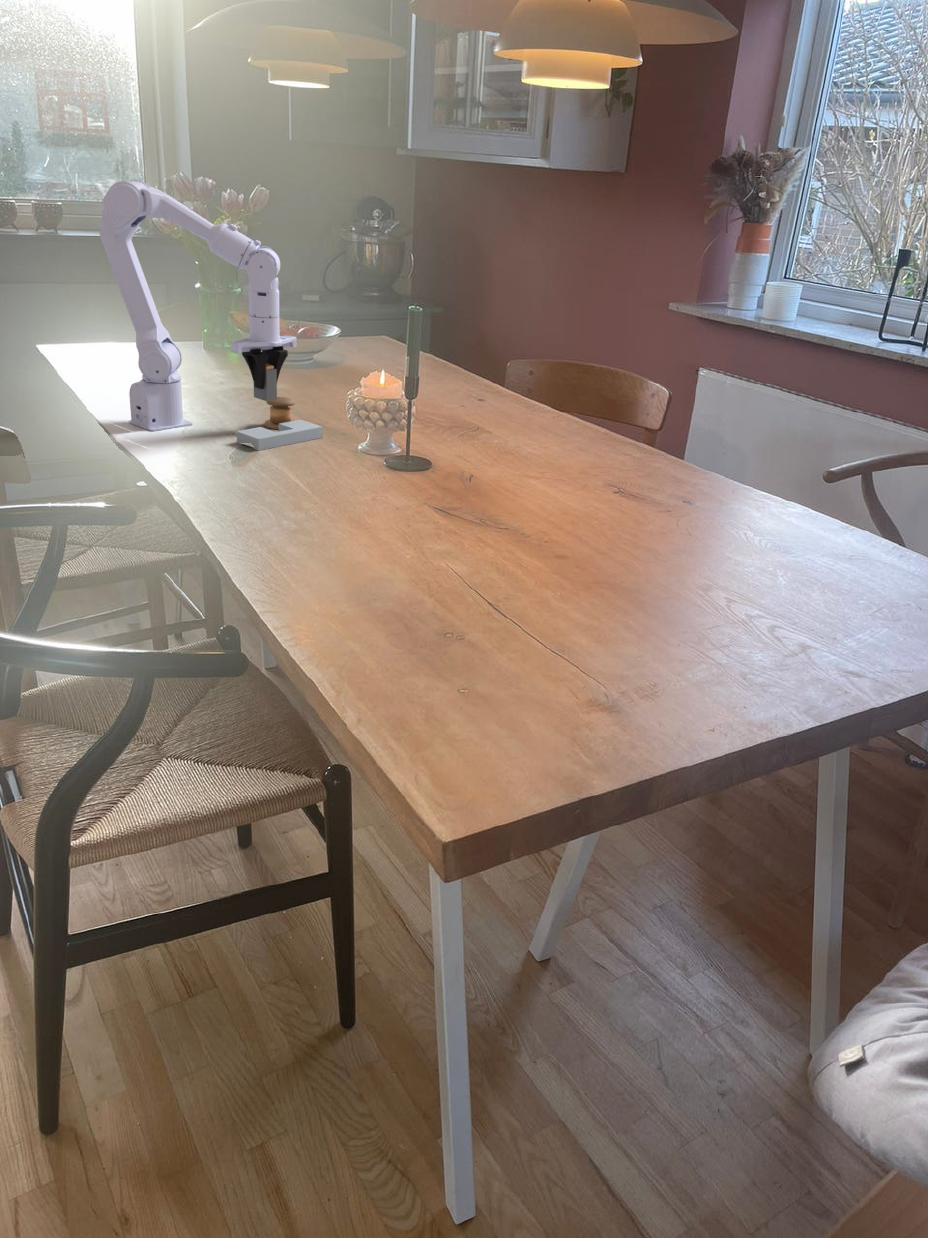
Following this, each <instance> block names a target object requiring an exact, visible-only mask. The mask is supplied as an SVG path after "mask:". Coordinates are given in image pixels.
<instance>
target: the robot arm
mask: <svg viewBox="0 0 928 1238" xmlns="http://www.w3.org/2000/svg"><path fill="white" fill-rule="evenodd" d="M101 201H102V206H103V207H102V208H103V209H102V213H101V220H100V229H99V238H100V241H101V243H102V246H103V248H104V249H103V250H104V251H105V255H106V256H107V260H108V262H109V265H110V267H111V270H112V273H113V276H114V279H115V281H116V284H117V286H118V289H119V291H120V293H121V296H122V299H123V303H124V304H125V307H126V310H127V312H128V315H129V318H130V320H131V323H132V325H133V328H134V331H135V335H136V336H135V337H136V338H135V346H136V350H137V352H138V368H139V369H138V370H140V372H141V374H142V376H141V377H142V378H141V380H140V381H137V382H136V381H135V382H134V383H132V384H131V385H130V387H129V392H128V395H129V404H130V405H129V406H130V407H129V408H130V418H131V419H130V420H129V424H131V425H134V426H137V427H140V428H142V429H145V430H146V431H150V432H158V431H163V430H169V429H170V430H171V429H173V428H174V429H176V428H181V427H186V426H192V425H193V422H192V421H190V420H187V419H184V415H183V413H184V412H183V392H182V376H181V375H180V373H179V372H178V369H179V368H180V367H181V365H182V362H183V356H182V352H181V350H180V348H179V347H178V345H177V344H176V343H174V341H173V339H172V338H171V334H170V332H169V331H168V330H167V328H166V327H165V326H164V325H163V323H162V320H161V317H160V315H159V312H158V309H157V307H156V303H155V301H154V298H153V296H152V293H151V290H150V288H149V285H148V282H147V279H146V277H145V273H144V271H143V268H142V265H141V263H140V259H139V258H138V254H137V251H136V249H135V247H134V243H133V241H132V239H133V237H134V235H135V233H136V231H137V229H138V228H139V226H140V224H141V223H142V222H143V221H144V220H145V219H147V218H148V219H149V218H151V219H152V218H153V219H166V220H168V221H170V222H171V223H173V224H175V225H176V226H178V227H181V228H183V229H184V230H185V231H187V232H189V233H192V234H193V235H195V236H196V237H198V238H201V239H202V240H204V241H206V244H207V245H208V249H209V251H210V252H211V253H212V254H214V255H216V256H217V257H219V258H220V259H222V260H224V261H226V262H227V263H229V264H230V265H232V266H234V267H236V268H237V269H238V270H245V272H246V275H247V277H248V286H249V287H248V291H247V292H248V293H247V294H248V321H249V322H248V325H249V326H248V327H249V329H248V331H249V332H248V333H249V337H246V338H243V339H238V340H235V341H234V340H233V341H230V346H231V347H230V349H231V351H230V352H231V353H234V354H241V355H242V357H243V359H244V360H245V362H246V364H247V367H248V368H249V371H250V374H251V379H252V381H253V387H254V386H255V388H259V389H264V385H265V368H266V364H269V365H273V366H274V369H277V382H278V381H279V377H280V376H279V375H280V374H281V373H280V372H281V370H282V367H283V365H284V363H285V360H286V359H287V357H288V354H289V353H288V352H289V351H288V350H286V349H284V348H297V347H298V345H297V343H298V342H297V341H298V340H297V339H298V338H297V336H293V335H281V334H280V329H281V328H280V319H281V318H280V290H279V286H280V283H279V282H280V281H279V277H277V276H278V274H279V273H280V270H281V259H280V257H279V255H278V254H277V253H276V252H275V251H274V250H273V249H272V248H271V247H270V246H265V245H263V246H261V244H262V242H261V241H260V240H258V239H255V240H253V239H251V238H250V237H248V236H246V235H245V234H243V233H241V232H239V231H238V228H239V227H238V226H236V225H235V224H234V223H231V224H226V222H224V223H220V224H216V225H215V224H213V223H212V222H210V221H209V220H208V219H206V218H204V217H203V216H201V215H199V214H198V213H196V212H195V210H194V211H193V210H192V209H191V208H190V207H187V206H186V205H184V204H183V203H181V202H180V201H178V200H177V199H175V198H174V197H172V196H171V195H169V194H167V193H166V192H164V191H162V190H160V189H158V188H157V187H154V186H150V185H148V184H147V183H146V182H144V181H142V180H138V179H132V180H128V181H125V180H119V181H117V182H114V183H113V184H112V185H110V187H109V188H108V190H107V192H106V193H105V195H104V197H103V198H102V200H101Z"/></svg>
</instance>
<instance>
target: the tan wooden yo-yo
mask: <svg viewBox="0 0 928 1238" xmlns="http://www.w3.org/2000/svg"><path fill="white" fill-rule="evenodd" d="M295 402H296V401H295V399H294V398H290V397H286V396H285V397H284V396H277V400H272V401H265V403H266V404H267V405H269V411H270V412H269V417H270V418H269V419H266V420H265V421H264V426H265V427H266V429H271V430H278V431H279V424H280V423H285V422H291V421H294V420H293V419H292V407H291V406H294V405H295V404H296V403H295Z"/></svg>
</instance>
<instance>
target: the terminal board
mask: <svg viewBox="0 0 928 1238" xmlns="http://www.w3.org/2000/svg"><path fill="white" fill-rule="evenodd" d="M323 430H324V427H323V426H321V425H318V424H316V423H312V422H309V421H306V420H303V419H297V420H293V421H291V422H285V423H280V424H279V430H278V431H273V430H272V429H271V430H270V429H269V428H265V427H261V426H258V427H253V428H247V429H242V430H237V431H236V444H239V445H242V444H241V443H251V444H252V445H253V446H254V449H253V450H256V451H258V452H260V451H264V450H268V449H269V450H270V449H274V448H279V447H284V446H289V445H293V444H294V445H295V444H299V443H303V442H308V441H313V440H319V439H322V438H323V437H324V436H323V434H324V433H323Z"/></svg>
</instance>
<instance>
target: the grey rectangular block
mask: <svg viewBox="0 0 928 1238" xmlns="http://www.w3.org/2000/svg"><path fill="white" fill-rule="evenodd" d="M277 397H278V381H277V369H274V366H273V365H269V364H266V368H265V385H264V389H259V388H255V386H254V385H253V398H254V399H255V398H256V399H258V400H261V401H265V402H266V401H272V400H277Z"/></svg>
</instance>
